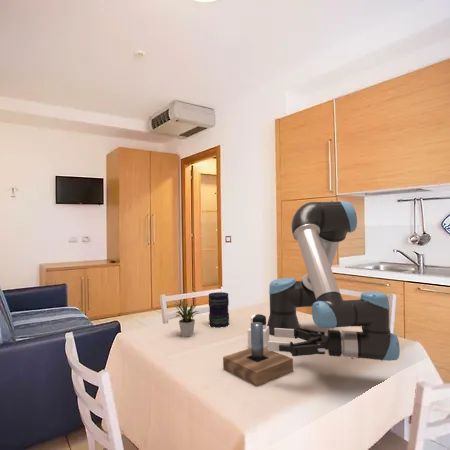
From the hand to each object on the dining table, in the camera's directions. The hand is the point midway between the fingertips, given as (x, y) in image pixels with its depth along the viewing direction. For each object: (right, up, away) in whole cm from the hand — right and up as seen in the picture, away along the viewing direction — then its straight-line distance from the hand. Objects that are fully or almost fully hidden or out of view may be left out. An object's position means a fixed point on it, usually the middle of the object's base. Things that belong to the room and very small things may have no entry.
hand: (271, 338), depth 106 cm
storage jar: (-18, -12, +54) cm, 59 cm away
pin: (-4, -11, +1) cm, 12 cm away
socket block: (-4, -11, +1) cm, 12 cm away
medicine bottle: (-2, -11, +24) cm, 27 cm away
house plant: (-33, -12, +40) cm, 53 cm away
